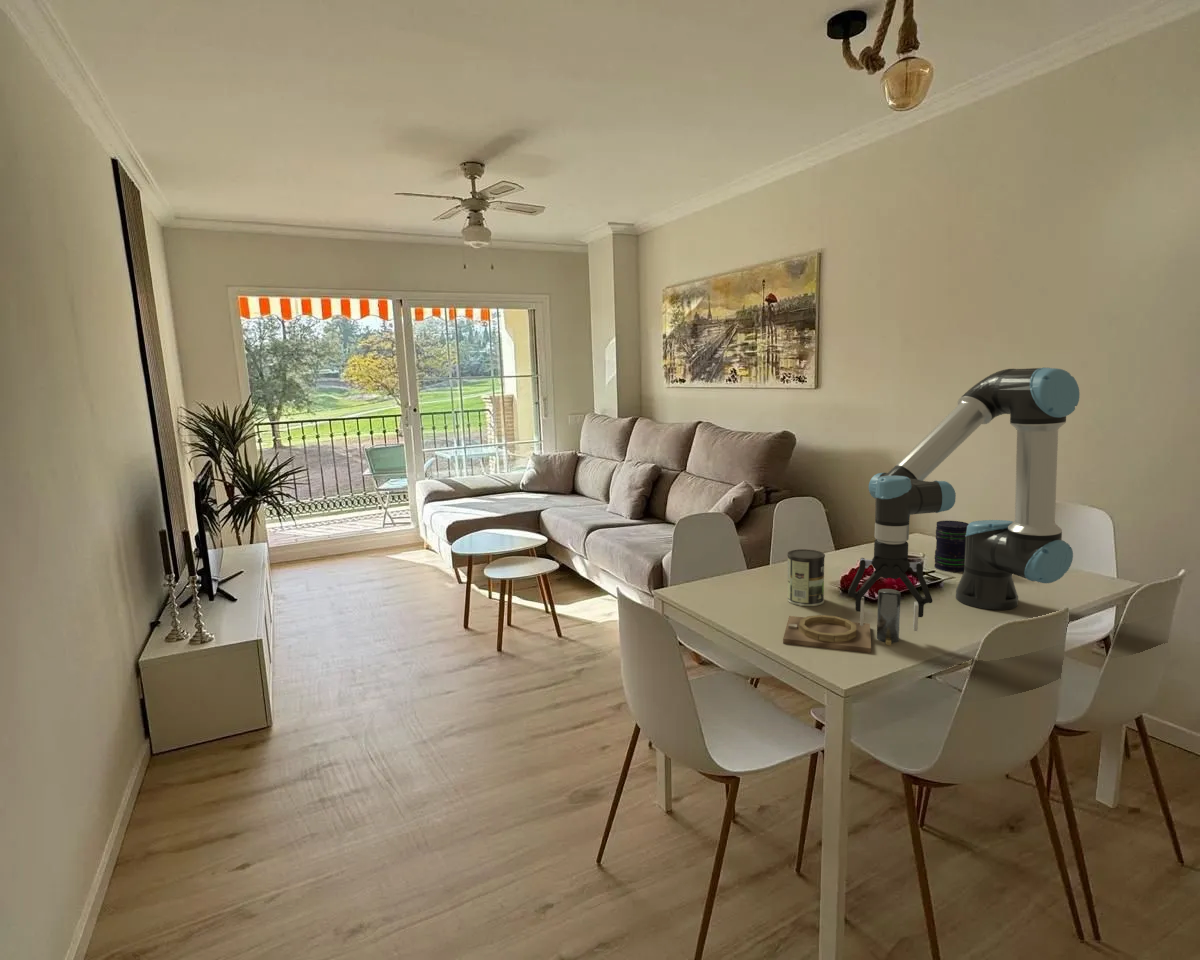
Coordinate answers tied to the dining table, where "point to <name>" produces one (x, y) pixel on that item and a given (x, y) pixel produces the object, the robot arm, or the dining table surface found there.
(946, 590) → the dining table surface
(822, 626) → the board
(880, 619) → the grey rounded cylinder
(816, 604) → the coffee can
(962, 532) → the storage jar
